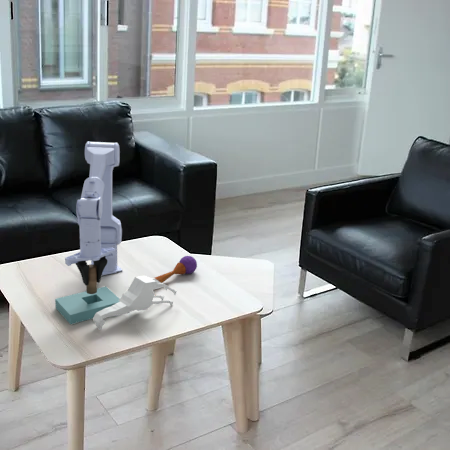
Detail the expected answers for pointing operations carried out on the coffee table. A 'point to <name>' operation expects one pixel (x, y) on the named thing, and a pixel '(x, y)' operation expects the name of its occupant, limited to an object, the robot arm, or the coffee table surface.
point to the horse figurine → (134, 299)
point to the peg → (92, 280)
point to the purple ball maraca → (180, 268)
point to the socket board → (85, 304)
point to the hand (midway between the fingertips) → (91, 282)
